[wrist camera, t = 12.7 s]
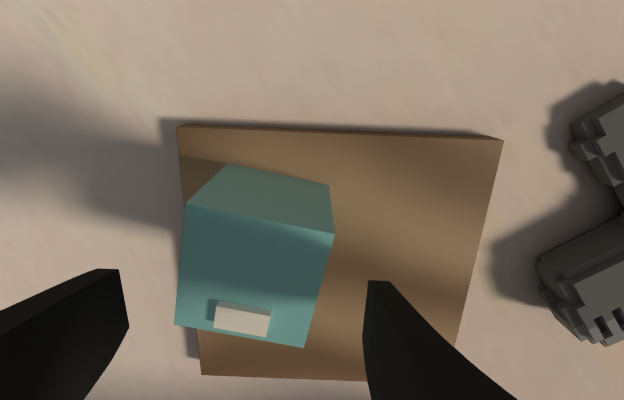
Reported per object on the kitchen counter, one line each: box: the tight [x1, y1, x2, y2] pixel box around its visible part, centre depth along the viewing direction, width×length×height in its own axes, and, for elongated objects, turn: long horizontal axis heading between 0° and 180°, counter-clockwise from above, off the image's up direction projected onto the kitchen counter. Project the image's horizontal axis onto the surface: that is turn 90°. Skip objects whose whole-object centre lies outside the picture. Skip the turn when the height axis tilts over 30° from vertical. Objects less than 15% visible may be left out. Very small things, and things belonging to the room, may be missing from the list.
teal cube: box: [174, 163, 335, 348], centre depth 13 cm, size 5×5×5 cm
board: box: [176, 124, 504, 381], centre depth 16 cm, size 14×14×4 cm
